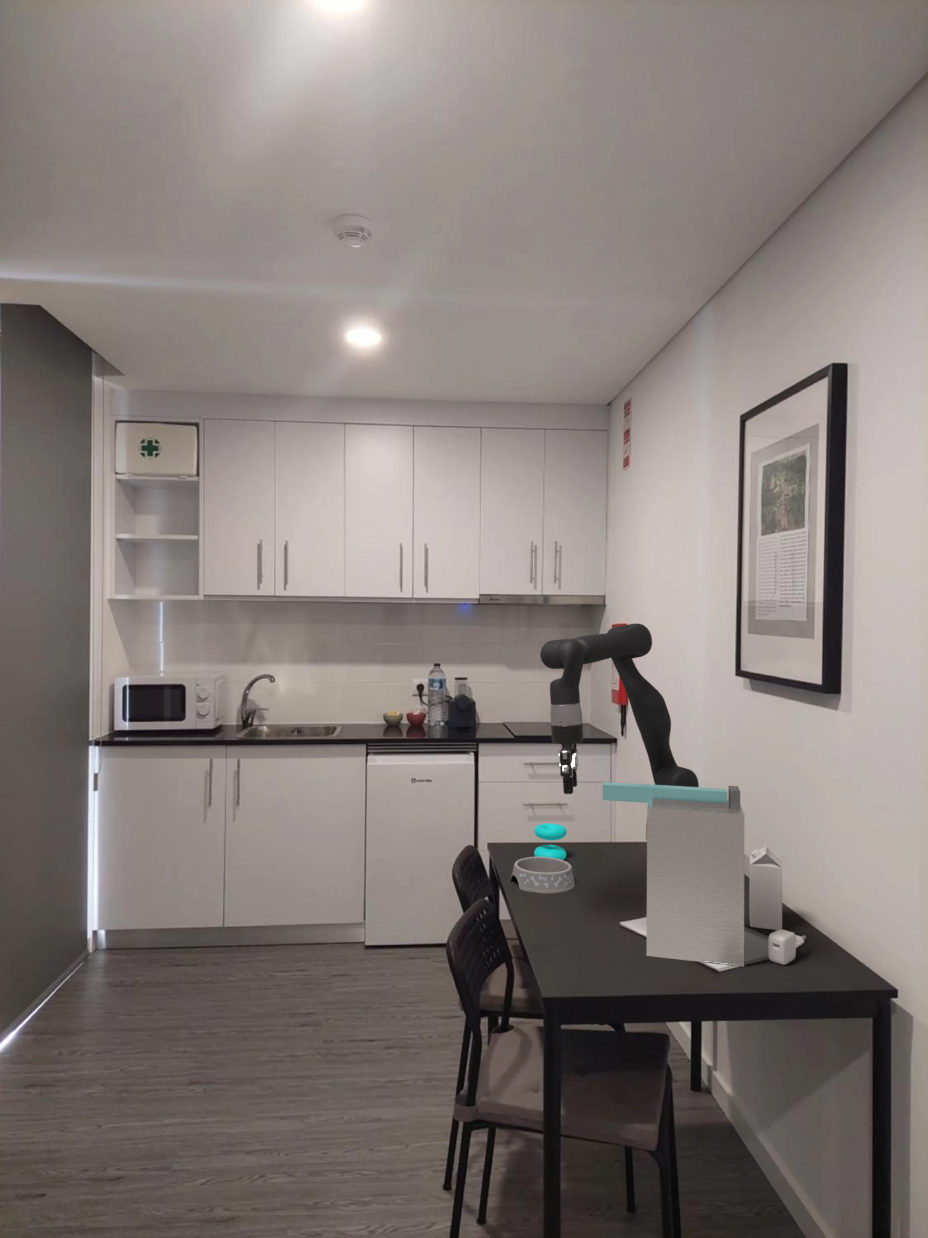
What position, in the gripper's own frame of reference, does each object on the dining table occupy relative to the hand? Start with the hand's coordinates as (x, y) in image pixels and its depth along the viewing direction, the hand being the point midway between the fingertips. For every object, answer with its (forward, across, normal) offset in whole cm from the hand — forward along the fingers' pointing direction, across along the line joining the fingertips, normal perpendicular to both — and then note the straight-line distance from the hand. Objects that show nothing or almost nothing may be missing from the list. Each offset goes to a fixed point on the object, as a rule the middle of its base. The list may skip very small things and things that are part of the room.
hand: (570, 790), depth 187 cm
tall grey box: (+34, +6, +26) cm, 43 cm away
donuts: (+32, -54, -14) cm, 64 cm away
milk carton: (+36, -14, +43) cm, 58 cm away
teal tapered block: (+2, +6, +22) cm, 23 cm away
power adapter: (+36, +5, +46) cm, 58 cm away
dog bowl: (+32, -30, -13) cm, 46 cm away
